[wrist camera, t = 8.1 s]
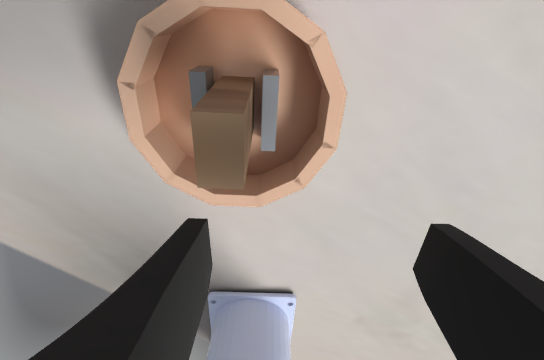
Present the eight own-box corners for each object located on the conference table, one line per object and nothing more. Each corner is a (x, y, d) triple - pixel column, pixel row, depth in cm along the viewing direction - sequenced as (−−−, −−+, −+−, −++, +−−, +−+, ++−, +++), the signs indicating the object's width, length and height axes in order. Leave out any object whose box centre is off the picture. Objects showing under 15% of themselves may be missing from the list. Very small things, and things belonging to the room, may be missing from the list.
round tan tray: (318, 184, 19) (325, 209, 17) (161, 177, 19) (143, 202, 16) (347, -3, 14) (365, -8, 11) (126, -16, 14) (92, -25, 11)
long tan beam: (253, 128, 17) (243, 189, 11) (224, 127, 17) (197, 187, 11) (254, 77, 15) (243, 114, 9) (222, 75, 15) (190, 111, 9)
